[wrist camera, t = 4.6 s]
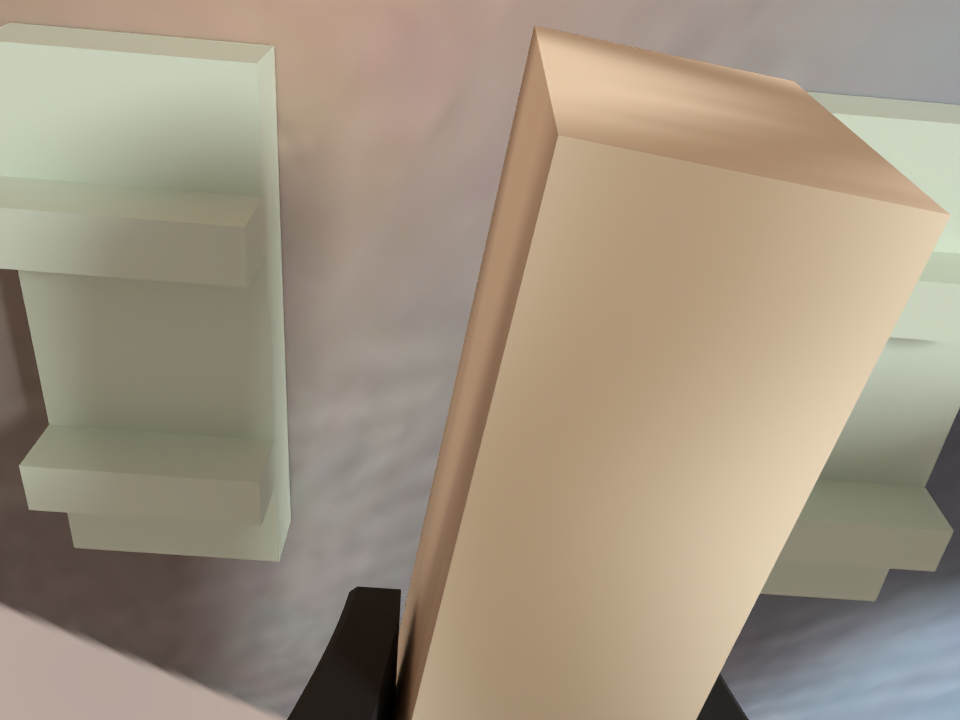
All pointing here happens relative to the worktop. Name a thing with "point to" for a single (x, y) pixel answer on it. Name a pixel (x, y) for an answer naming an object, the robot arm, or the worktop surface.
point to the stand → (260, 318)
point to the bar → (646, 381)
